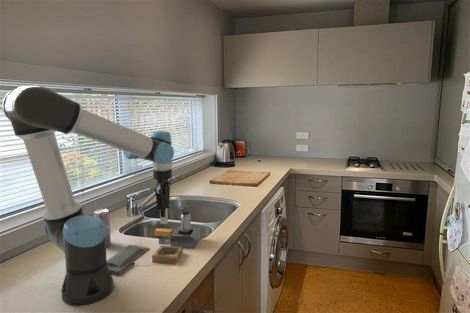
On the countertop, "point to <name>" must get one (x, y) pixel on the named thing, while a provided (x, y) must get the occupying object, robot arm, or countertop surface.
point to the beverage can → (105, 217)
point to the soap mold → (125, 259)
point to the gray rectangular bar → (185, 221)
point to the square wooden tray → (161, 258)
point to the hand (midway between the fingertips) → (164, 223)
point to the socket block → (183, 238)
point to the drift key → (163, 232)
